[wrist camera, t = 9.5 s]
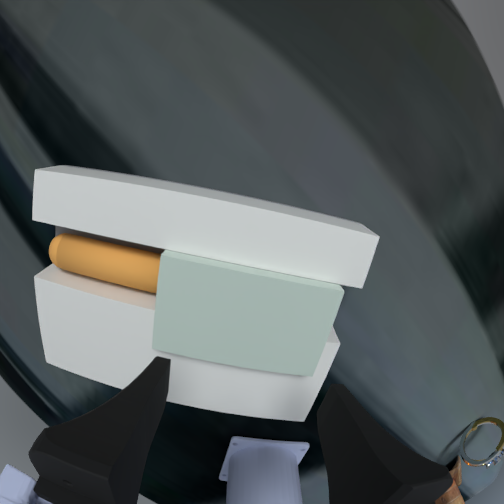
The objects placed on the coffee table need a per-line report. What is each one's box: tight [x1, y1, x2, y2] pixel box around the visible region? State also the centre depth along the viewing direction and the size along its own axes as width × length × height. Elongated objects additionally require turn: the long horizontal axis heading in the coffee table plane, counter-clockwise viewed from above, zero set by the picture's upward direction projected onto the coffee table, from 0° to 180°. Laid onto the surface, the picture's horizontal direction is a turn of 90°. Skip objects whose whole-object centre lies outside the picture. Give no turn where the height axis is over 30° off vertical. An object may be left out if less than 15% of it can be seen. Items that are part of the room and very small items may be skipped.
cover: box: [152, 250, 345, 377], centre depth 17 cm, size 6×10×1 cm, turn 78°
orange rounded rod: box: [49, 233, 161, 293], centre depth 19 cm, size 2×12×2 cm, turn 77°
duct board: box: [32, 165, 379, 422], centre depth 20 cm, size 15×21×4 cm
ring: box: [460, 417, 504, 469], centre depth 24 cm, size 7×3×8 cm, turn 122°
